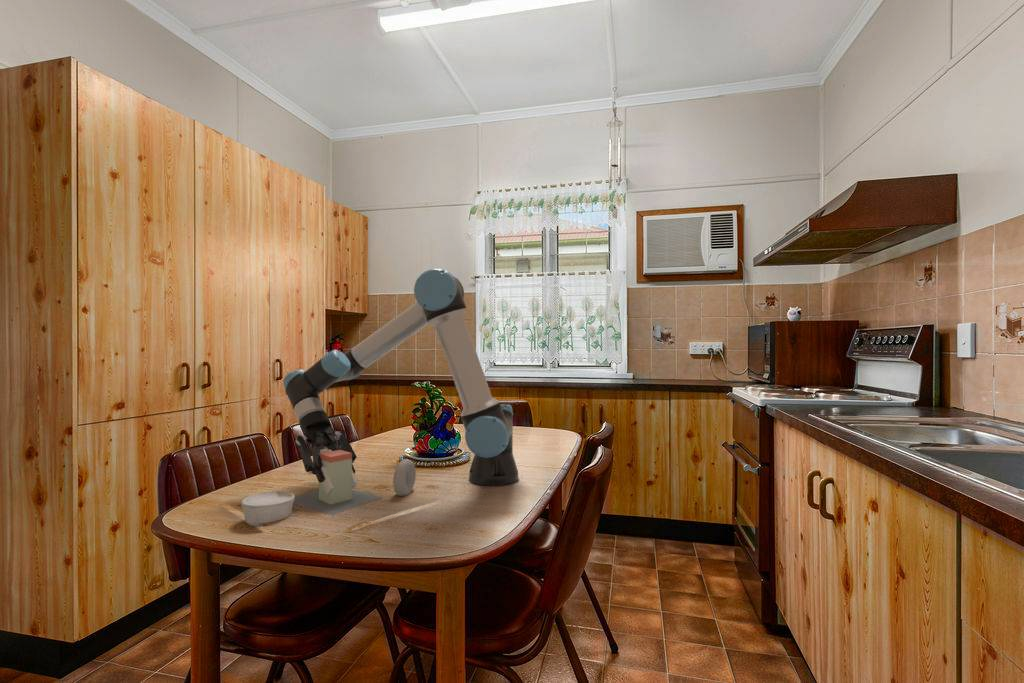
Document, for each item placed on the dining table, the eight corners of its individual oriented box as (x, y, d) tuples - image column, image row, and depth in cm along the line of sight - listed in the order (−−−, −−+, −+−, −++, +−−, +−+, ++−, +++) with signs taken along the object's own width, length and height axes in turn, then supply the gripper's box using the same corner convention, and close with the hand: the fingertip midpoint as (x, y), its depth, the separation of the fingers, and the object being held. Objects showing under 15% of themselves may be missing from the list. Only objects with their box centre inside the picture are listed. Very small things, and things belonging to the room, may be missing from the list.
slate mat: (382, 500, 131) (382, 497, 131) (332, 519, 117) (332, 514, 117) (333, 488, 142) (333, 485, 142) (281, 504, 128) (281, 500, 128)
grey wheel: (402, 502, 130) (402, 464, 130) (390, 501, 130) (390, 463, 130) (417, 491, 140) (417, 455, 140) (406, 490, 140) (406, 455, 140)
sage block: (318, 499, 129) (318, 453, 129) (340, 494, 133) (340, 449, 133) (330, 504, 125) (330, 456, 125) (351, 499, 129) (352, 453, 129)
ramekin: (305, 515, 120) (305, 494, 120) (265, 532, 110) (265, 508, 110) (271, 509, 124) (272, 488, 124) (230, 524, 114) (230, 501, 114)
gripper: (339, 422, 146) (369, 488, 135) (273, 430, 132) (301, 505, 121) (348, 405, 143) (380, 472, 132) (281, 412, 129) (311, 488, 118)
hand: (342, 488), depth 127 cm, fingers closed on sage block, 6 cm apart
